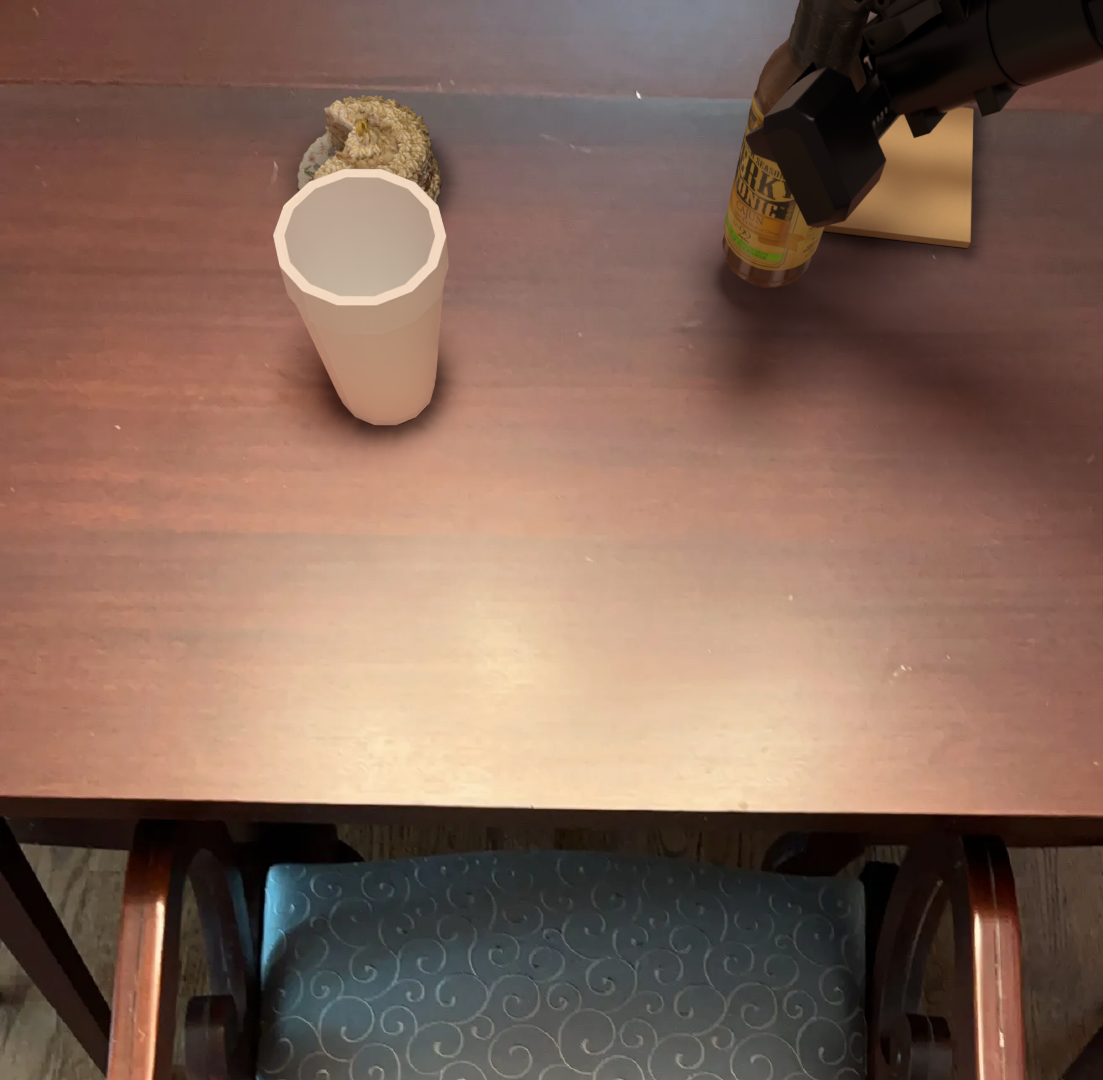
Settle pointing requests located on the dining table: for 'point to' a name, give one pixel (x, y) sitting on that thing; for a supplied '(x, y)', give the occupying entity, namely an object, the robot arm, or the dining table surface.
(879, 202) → the cork mat
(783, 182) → the sauce bottle
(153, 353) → the dining table surface
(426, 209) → the foam cup
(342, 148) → the cake
